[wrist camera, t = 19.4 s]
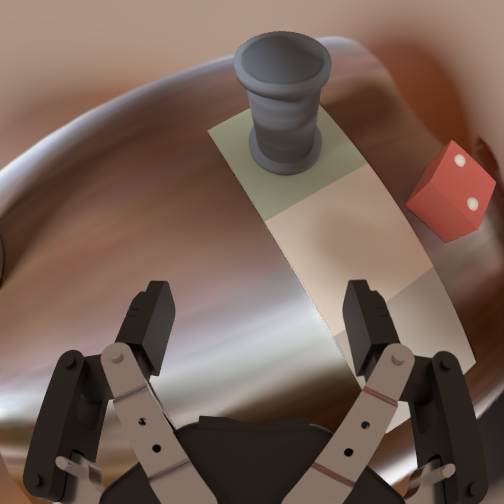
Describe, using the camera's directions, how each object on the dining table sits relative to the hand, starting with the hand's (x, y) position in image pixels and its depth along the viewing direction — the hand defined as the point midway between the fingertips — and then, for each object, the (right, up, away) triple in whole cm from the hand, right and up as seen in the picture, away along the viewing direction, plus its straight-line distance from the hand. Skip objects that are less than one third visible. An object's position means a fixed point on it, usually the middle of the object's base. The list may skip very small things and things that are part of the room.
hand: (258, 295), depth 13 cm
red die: (+16, +6, +8) cm, 19 cm away
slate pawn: (+3, +11, +10) cm, 15 cm away
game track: (+7, +2, +9) cm, 12 cm away
